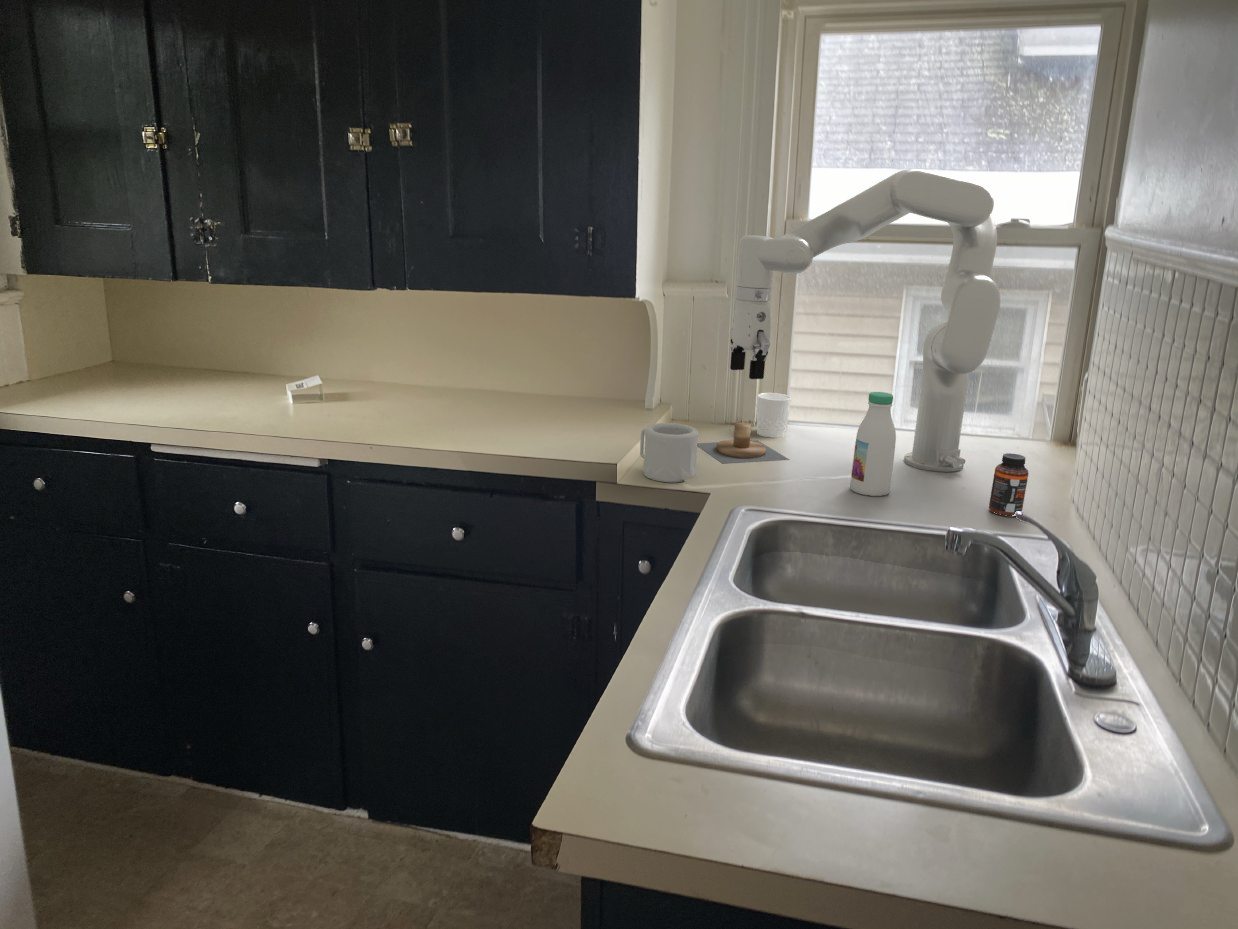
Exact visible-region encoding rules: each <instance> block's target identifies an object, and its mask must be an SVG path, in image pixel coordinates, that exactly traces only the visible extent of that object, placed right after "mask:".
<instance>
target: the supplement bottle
mask: <svg viewBox="0 0 1238 929" xmlns="http://www.w3.org/2000/svg"><path fill="white" fill-rule="evenodd" d="M1001 461H1002V462H1001V463H999V464H998V465H996V466H995V469H994V474H993V479H992V486H991V491H990V492H991V493H990V497H989V505H988V509H990V510H991V511H992V512H995V513H997V514H1001V515H1007V516H1012V515H1014V514H1015V512H1016V511H1023V509H1024V508H1023V507H1024V502H1025V496H1026V492H1027V485H1028V477H1029V470H1028V468H1026V467H1025V466H1026V465H1025V464H1026V457H1025V456H1024V455H1022V454H1017V453H1010V452H1008V453H1007V452H1006V453H1003V454H1002V459H1001ZM990 510H989V511H990ZM991 511H990V512H991ZM992 512H991V513H992ZM995 513H994V514H995ZM997 514H996V515H997ZM1001 515H1000V516H1001ZM1013 518H1015V516H1014V517H1013Z"/></svg>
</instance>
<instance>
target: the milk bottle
mask: <svg viewBox="0 0 1238 929" xmlns="http://www.w3.org/2000/svg"><path fill="white" fill-rule="evenodd" d="M893 402H894V395H893V394H892V393H889V392H882V391H872V392H870V393H869V395H868V402H867V404H868V408H867V411H866V414H865V416H864V418H863V419H862V420H861V422H860V425H859V427H858V428H857V433H856V437H855V443H854V452H853V460H852V468H851V478H850V489H851V491H852V492H854V493H856V494H859V495H862V496H863V495H864V496H867V495H870V496H869V497H883V496H882V495H884V496H886V495H888V494H889V493H890V491H891V490H890V489H891V485H892V478H893V468H894V461H895V451H896V439H897V433H896V427H895V424H894V420H893V417H892V413H891V410H892V409H891V408H892V407H893Z"/></svg>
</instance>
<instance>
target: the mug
mask: <svg viewBox="0 0 1238 929" xmlns="http://www.w3.org/2000/svg"><path fill="white" fill-rule="evenodd" d="M698 440H699V431H698V430H697V428H695V427H693V426H691V425H687V424H683V423H677V422H659V423H653V424H650V425H648V426H646V427H645V428H643V429H642V430H641V431H640V444H639V445H640V446H639V447H640V448H639V456H640V457H641V458H643V466H642V467H643V474H644V476H645V477H646V478H648V479H650V480H653V481H656V482H661V483H662V482H663V483H672V484H673V483H675V484H676V483H684V482H686V481H685V480H687V479H690V478H692V477H694V476H695V475H696V470H697V452H698V446H697V443H698Z"/></svg>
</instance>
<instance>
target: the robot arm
mask: <svg viewBox="0 0 1238 929" xmlns="http://www.w3.org/2000/svg"><path fill="white" fill-rule="evenodd" d="M994 201H995V200H994V197H993V194H992V192H991V191H990V190H989V188H988V187H986V186H985V185H984V184H981V183H979V182H974V181H971V180H970V181H969V180H965V179H961V178H957V177H953V176H948V175H944V174H940V173H936V172H932V171H929V170H925V169H920V168H906V169H902V170H899V171H897V172H895V173H894V174H892V175H890V176H888V177H887V178H884V179H882V180H881V181H879V182H877V183H876V184H874V185H872V186H870V187H869V188H867V189H865V190H863V191H861V192H860V193H858V194H856V195H854V196H853V197H851V198H849V199H847V200H845V201H843V202H842V203H839V204H838V205H836V206H834V207H832V208H831V209H829V210H827V211H826V212H824V213H821V214H820V215H818V216H816V217H815V218H812V219H810V220H808V221H807V222H805V223H803V224H801V225H800V226H798V227H796V228H794V229H792V230H790V231H789V232H787V233H785V234H784V235H782V236H780V237H779V238H773V237H771V236H767V235H757V234H756V235H755V234H754V235H752V234H751V235H749V234H747V235H744V236H742V237H741V238H740V240H739V244H738V254H737V256H738V257H737V269H736V282H735V294H734V302H736V303H735V307H734V313H733V320H732V328H731V329H730V344H731V346H730V353H731V354H730V365H729V366H730V367H729V369H730V370H731V371H743V370H744V369H745V366H746V365H745V364H746V351H745V350H748V351H750V355H751V359H750V362H749V373H748V374H749V375H748V378H749V379H750V380H763V379H764V376H765V365H766V361H767V356H768V354H769V349H770V347H771V346H770V345H771V331H772V330H771V328H772V327H771V326H772V325H771V324H772V321H771V320H772V317H771V312H772V311H771V298H772V297H771V296H772V285H773V275H774V274H773V273H774V272H779V273H783V274H788V275H789V274H790V275H797V274H801V273H804V272H805V271H806V270H808V269H809V267H810V266H811V265H812V263H813V261H814V260H813V259H814V258H815V257H817V256H819V255H821V254H823V253H824V252H827V251H830V250H831V249H833V248H835V247H838V246H842V245H845V244H850V243H855V242H858V241H860V240H863V239H865V238H867V237H868V236H870V235H873V233H876V232H877V231H879V230H881V229H883V228H884V227H886V226H888V225H890V224H891V223H894V222H895V221H898V220H900V219H901V218H903V217H905V216H906V215H908V214H914V215H917V216H920V217H921V216H922V217H924V218H928V219H932V220H935V221H940V222H943V223H947V224H948V225H949V227H950V229H951V232H952V235H953V242H952V250H951V255H950V260H949V264H948V268H947V272H946V275H945V279H944V282H943V286H942V290H941V293H940V301H941V304H942V306H943V308H944V309H945V310H946V311H947V312H949V314H948V318H947V320H945V321H941V322H938V323H937V324H935V325H934V326H932V327H931V328H930V330H928V332H927V335H926V336H925V339H924V342H923V350H922V377H921V385H920V392H919V400H918V406H917V407H918V408H917V414H916V421H915V430H914V437H913V444H912V445H913V446H912V451H911V452H908V453H906V454H904V458H903V461H904V463H906V464H907V465H909V466H911V467H914V468H916V469H920V470H924V471H929V472H931V471H932V472H938V473H940V472H942V473H950V472H951V473H952V472H959V471H961V470H962V469H963V468H964V465H965V464H966V459H965V458H963V457H961V449H959V446H960V441H961V434H962V433H961V432H962V428H963V426H962V425H963V419H964V413H965V406H966V399H967V394H968V384H969V374H970V373H972V372H974V371H975V370H977V369H979V367H980V366H981V365H982V364H983V362H984V361H985V358H986V357H987V355H988V351H989V348H990V345H991V341H992V338H993V334H994V331H995V327H996V323H997V319H998V316H999V312H1000V306H1001V293H1000V289H999V287H998V284H996V282H995V281H994V280H993V279H992V278H991V273H992V270H993V266H994V260H995V256H996V252H997V247H998V244H997V243H998V231H997V225H996V221H995V219H994V216H993V214H992V212H993V210H994V205H995V204H994V203H995V202H994Z"/></svg>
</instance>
